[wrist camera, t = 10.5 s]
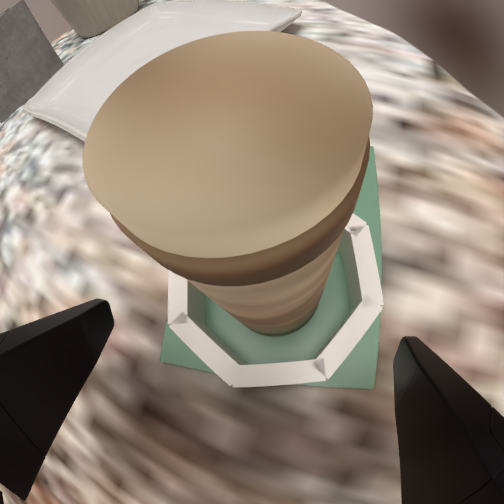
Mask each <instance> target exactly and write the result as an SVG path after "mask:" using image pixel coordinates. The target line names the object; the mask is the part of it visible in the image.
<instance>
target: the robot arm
mask: <svg viewBox="0 0 504 504" xmlns="http://www.w3.org/2000/svg"><path fill="white" fill-rule="evenodd" d="M113 327H114V319H113V315H112V312H111V308H110V305H109V303H108V301H106V300H103V299H94V300H91V301H88V302H86V303H83V304H80V305H77V306H75V307H72V308H69V309H66V310H64V311H61V312H58V313H55V314H53V315H50V316H47V317H44V318H42V319H39V320H36V321H33V322H31V323H28V324H25V325H23V326H20V327H17V328H14V329H12V330H10V331H6V332H4V333H1V334H0V483H1V484H2V485H4V486H5V487H6V488H7V489H9V490H10V491H11V492H13V493H14V494H15V495H17V496H18V497H20V498H21V499H22V500H24V501H25V500H26V499H27V497H28V495H29V492H30V490H31V488H32V485H33V483H34V481H35V479H36V477H37V474H38V472H39V470H40V468H41V466H42V464H43V462H44V459H45V456H46V455H47V453H48V451H49V449H50V447H51V445H52V443H53V441H54V439H55V437H56V435H57V433H58V431H59V429H60V427H61V425H62V423H63V421H64V420H65V418H66V416H67V414H68V412H69V410H70V408H71V407H72V405H73V403H74V401H75V399H76V398H77V396H78V394H79V392H80V391H81V389H82V387H83V385H84V384H85V382H86V380H87V378H88V377H89V375H90V373H91V372H92V370H93V368H94V366H95V365H96V363H97V361H98V359H99V357H100V355H101V352H102V350H103V348H104V346H105V344H106V342H107V340H108V338H109V336H110V334H111V332H112V330H113ZM393 371H394V399H395V417H396V426H397V435H398V445H399V457H400V471H401V495H402V504H504V417H503V416H502V415H501V414H500V413H499V412H498V411H497V410H496V409H495V408H494V407H492V406H491V405H490V404H489V403H488V402H487V401H486V400H485V399H484V398H483V397H482V396H481V395H480V394H479V393H478V392H477V391H476V390H475V389H474V388H473V387H472V386H470V385H469V384H468V383H467V382H466V381H465V380H464V379H463V378H462V377H461V376H460V375H459V374H458V373H456V372H455V371H454V370H453V369H452V368H451V367H450V366H449V365H448V364H447V363H445V362H444V361H443V360H442V359H441V358H440V357H439V356H438V355H437V354H435V353H434V352H433V351H432V350H431V349H430V348H429V347H428V346H426V345H425V344H424V343H423V342H422V341H421V340H420V339H419V338H417V337H415V336H405V337H403V338H402V339H401V341H400V344H399V347H398V350H397V352H396V355H395V358H394V362H393ZM491 407H492V408H491ZM0 504H4V502H3V496H2V492H1V491H0Z"/></svg>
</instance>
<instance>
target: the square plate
mask: <svg viewBox="0 0 504 504" xmlns="http://www.w3.org/2000/svg"><path fill="white" fill-rule="evenodd" d="M301 13H302V11H301V10H299V9H295V8H289V7H283V6H277V5H270V4H263V3H255V2H246V1H233V0H186V1H173V2H163V3H155V4H151V5H149V6H148V7H146V8H144V9H142V10H140V11H139V12H137V13H135V14H133V15H132V16H130V17H128V18H127V19H125V20H123V21H122V22H120V23H118V24H117V25H115V26H114V27H112V28H111V29H109V30H108V31H106V32H105V33H104V34H102V35H101V36H99V37H98V38H97V39H95V40H94V41H93V42H91V43H90V44H89V45H87V46H86V47H85V48H84V49H82V50H81V51H80V52H79V53H78V54H76V55H75V56H74V57H73V58H72V59H71V60H70V61H68V62H67V63H66V64H65V65H64V66H63V67H62V68H61V69H60V70H59V71H58V72H57V73H56V74H55V75H54V76H53V77H52V78H51V79H50V80H49V81H48V82H47V83H46V84H45V85H44V86H43V87H42V88H41V89H40V90H39V91H38V92H37V93H36V94H35V95H34V96H33V98H32V99H31V100H30V101H29V102H28V103H27V104H26V106H25V107H24V108H23V112H24V113H26V114H28V115H30V116H33V117H36V118H39V119H41V120H44V121H46V122H49V123H51V124H53V125H55V126H57V127H59V128H61V129H63V130H65V131H66V132H68V133H70V134H72V135H73V136H75V137H77V138H78V139H80V140H81V141H83V142H85V140H86V137H87V134H88V131H89V128H90V126H91V124H92V122H93V120H94V117H95V116H96V114H97V113H98V111H99V109H100V108H101V106H102V105H103V104H104V102H105V101H106V100H107V98H108V97H109V96H110V95H111V93H112V92H113V91H114V90H115V89H116V88H117V87H118V86H119V85H120V84H121V83H122V82H123V81H124V80H125V79H127V78H128V77H129V76H130V75H131V74H133V73H134V72H135V71H136V70H138V69H139V68H140V67H142V66H143V65H145V64H146V63H148V62H149V61H151V60H153V59H154V58H156V57H158V56H160V55H162V54H163V53H165V52H167V51H170V50H172V49H174V48H176V47H178V46H181V45H183V44H186V43H189V42H192V41H195V40H198V39H201V38H205V37H209V36H213V35H218V34H223V33H230V32H239V31H273V32H281V31H283V30H284V29H285V28H287V27H288V26H289V25H290V24H292V23H293V22H294V21H295V20H296V19H297V18H298V17H299V16H301Z"/></svg>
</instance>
